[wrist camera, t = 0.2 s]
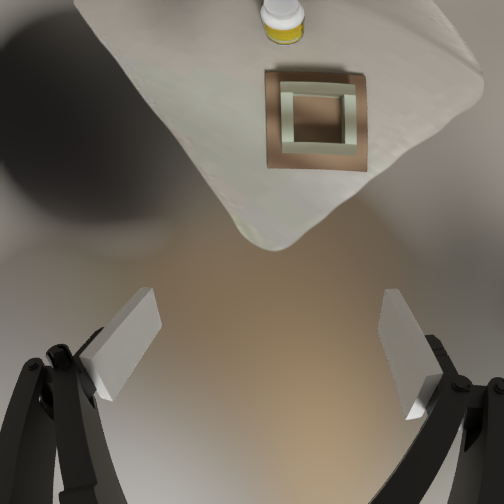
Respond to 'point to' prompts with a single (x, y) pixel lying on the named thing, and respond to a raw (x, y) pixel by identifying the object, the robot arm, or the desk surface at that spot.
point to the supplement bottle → (283, 21)
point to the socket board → (316, 121)
